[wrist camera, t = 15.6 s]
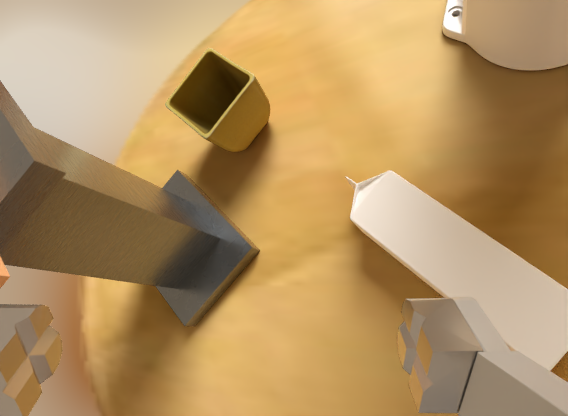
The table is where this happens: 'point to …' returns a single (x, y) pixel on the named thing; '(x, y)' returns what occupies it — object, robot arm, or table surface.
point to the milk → (465, 264)
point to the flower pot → (221, 102)
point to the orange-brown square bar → (3, 273)
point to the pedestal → (111, 221)
